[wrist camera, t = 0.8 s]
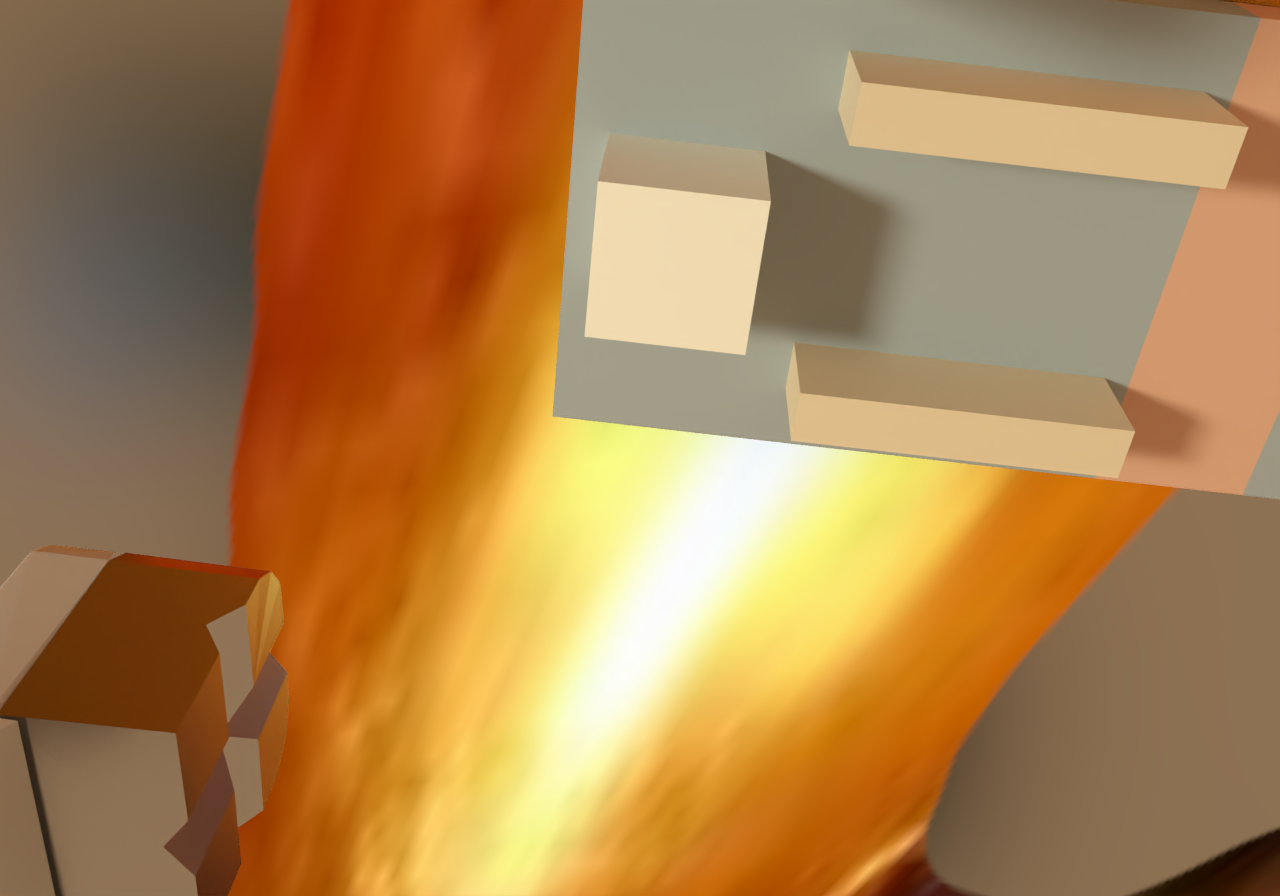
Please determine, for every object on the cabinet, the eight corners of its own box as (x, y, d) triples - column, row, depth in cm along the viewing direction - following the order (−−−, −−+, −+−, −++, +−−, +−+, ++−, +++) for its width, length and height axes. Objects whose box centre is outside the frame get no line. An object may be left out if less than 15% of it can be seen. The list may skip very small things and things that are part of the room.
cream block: (609, 132, 43) (597, 181, 38) (765, 151, 43) (770, 201, 38) (596, 277, 45) (584, 336, 41) (742, 293, 45) (745, 355, 41)
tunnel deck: (594, -74, 41) (576, -39, 36) (1650, 51, 42) (1793, 104, 36) (559, 386, 51) (540, 470, 45) (1419, 484, 51) (1504, 579, 46)
